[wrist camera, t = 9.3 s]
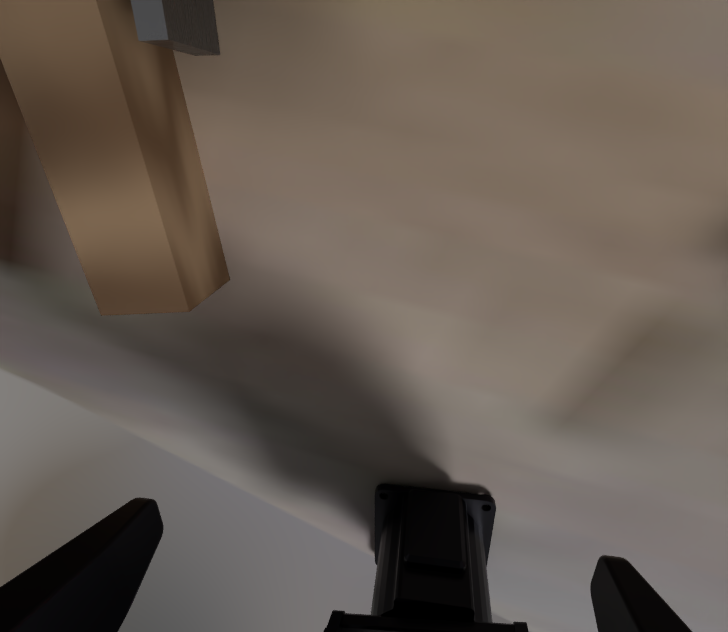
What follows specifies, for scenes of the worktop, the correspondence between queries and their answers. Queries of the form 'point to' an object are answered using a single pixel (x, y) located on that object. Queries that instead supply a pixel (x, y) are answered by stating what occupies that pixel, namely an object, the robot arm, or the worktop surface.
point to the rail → (115, 152)
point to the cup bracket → (177, 25)
